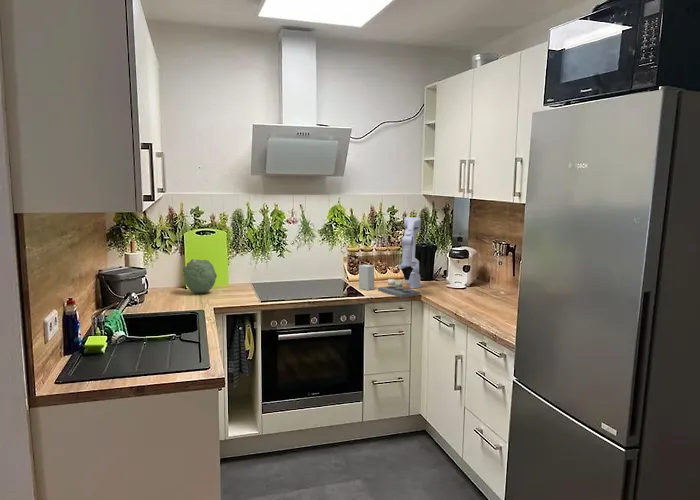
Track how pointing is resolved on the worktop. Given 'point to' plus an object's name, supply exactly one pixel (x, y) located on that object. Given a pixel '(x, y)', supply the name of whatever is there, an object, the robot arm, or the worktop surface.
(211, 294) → the worktop surface
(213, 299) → the worktop surface
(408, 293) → the panel
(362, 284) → the skincare box
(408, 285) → the button terracotta
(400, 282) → the button sage
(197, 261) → the cabbage
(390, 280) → the button cream
